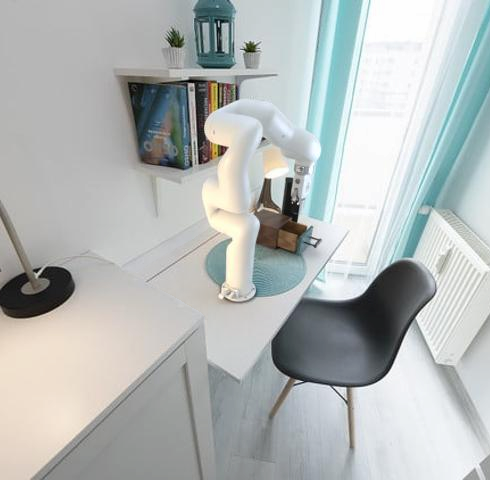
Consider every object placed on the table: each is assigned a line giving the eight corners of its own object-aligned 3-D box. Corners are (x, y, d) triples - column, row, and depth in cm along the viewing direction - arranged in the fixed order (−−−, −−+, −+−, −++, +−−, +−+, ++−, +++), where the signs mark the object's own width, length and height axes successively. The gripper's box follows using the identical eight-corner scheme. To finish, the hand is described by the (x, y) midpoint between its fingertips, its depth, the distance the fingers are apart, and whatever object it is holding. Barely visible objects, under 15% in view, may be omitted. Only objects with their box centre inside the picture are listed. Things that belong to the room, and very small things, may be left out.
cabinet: (288, 236, 143) (291, 217, 137) (275, 249, 132) (277, 228, 127) (261, 227, 150) (263, 208, 145) (246, 239, 139) (247, 219, 134)
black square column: (296, 228, 151) (305, 176, 136) (281, 228, 151) (288, 175, 136) (294, 221, 157) (302, 171, 143) (280, 221, 157) (286, 170, 143)
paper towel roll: (289, 212, 123) (291, 199, 120) (294, 208, 126) (296, 195, 123) (300, 215, 121) (302, 201, 118) (304, 211, 124) (306, 198, 121)
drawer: (322, 246, 134) (326, 230, 129) (311, 260, 124) (315, 242, 120) (282, 233, 143) (284, 217, 139) (269, 245, 133) (271, 228, 129)
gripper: (304, 175, 106) (297, 220, 115) (319, 165, 119) (312, 206, 128) (286, 171, 109) (280, 215, 119) (302, 162, 122) (296, 202, 131)
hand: (297, 210), depth 123 cm, fingers closed on paper towel roll, 4 cm apart
